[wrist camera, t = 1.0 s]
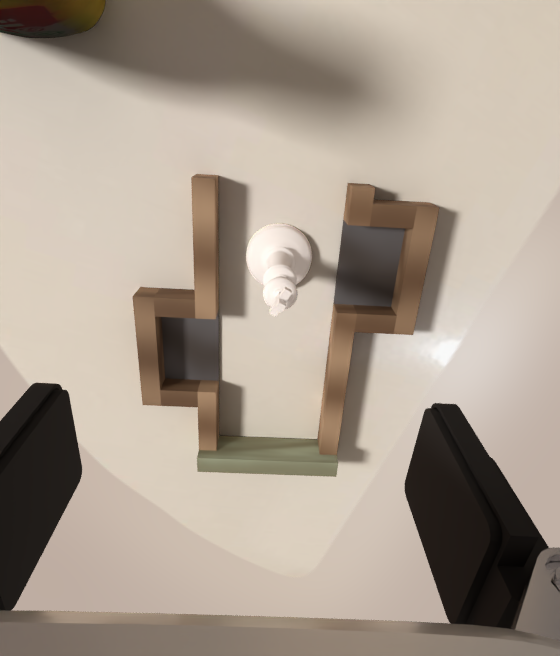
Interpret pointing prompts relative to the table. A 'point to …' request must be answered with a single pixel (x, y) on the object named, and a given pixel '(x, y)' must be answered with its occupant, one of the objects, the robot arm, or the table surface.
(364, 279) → the trap lane
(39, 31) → the bottle
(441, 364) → the table surface
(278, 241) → the chess piece
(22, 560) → the robot arm
